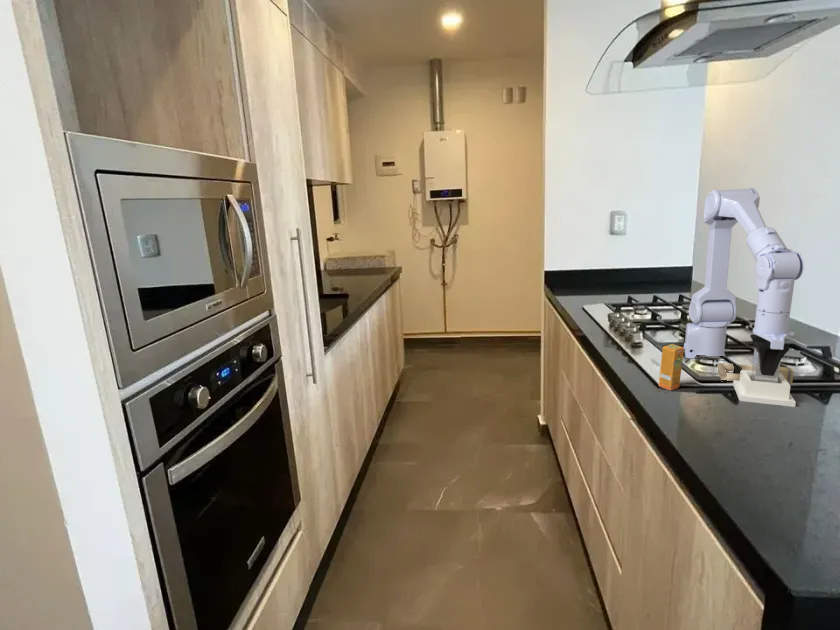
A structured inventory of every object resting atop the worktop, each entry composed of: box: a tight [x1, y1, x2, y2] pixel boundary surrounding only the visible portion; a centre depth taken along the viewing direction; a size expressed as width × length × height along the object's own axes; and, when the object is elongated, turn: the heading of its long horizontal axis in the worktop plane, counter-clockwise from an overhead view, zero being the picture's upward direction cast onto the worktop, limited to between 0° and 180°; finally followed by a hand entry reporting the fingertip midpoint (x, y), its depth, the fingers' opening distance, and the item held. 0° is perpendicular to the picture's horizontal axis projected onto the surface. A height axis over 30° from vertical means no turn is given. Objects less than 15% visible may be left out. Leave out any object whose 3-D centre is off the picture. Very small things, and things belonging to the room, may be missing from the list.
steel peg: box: [751, 348, 782, 383], centre depth 103 cm, size 4×4×8 cm
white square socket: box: [732, 370, 797, 408], centre depth 104 cm, size 10×10×4 cm
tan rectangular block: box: [779, 366, 795, 385], centre depth 111 cm, size 5×2×3 cm, turn 65°
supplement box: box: [658, 343, 685, 391], centre depth 110 cm, size 3×3×10 cm
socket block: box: [716, 362, 753, 381], centre depth 114 cm, size 8×8×2 cm
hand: (765, 371), depth 103 cm, fingers closed on steel peg, 4 cm apart
